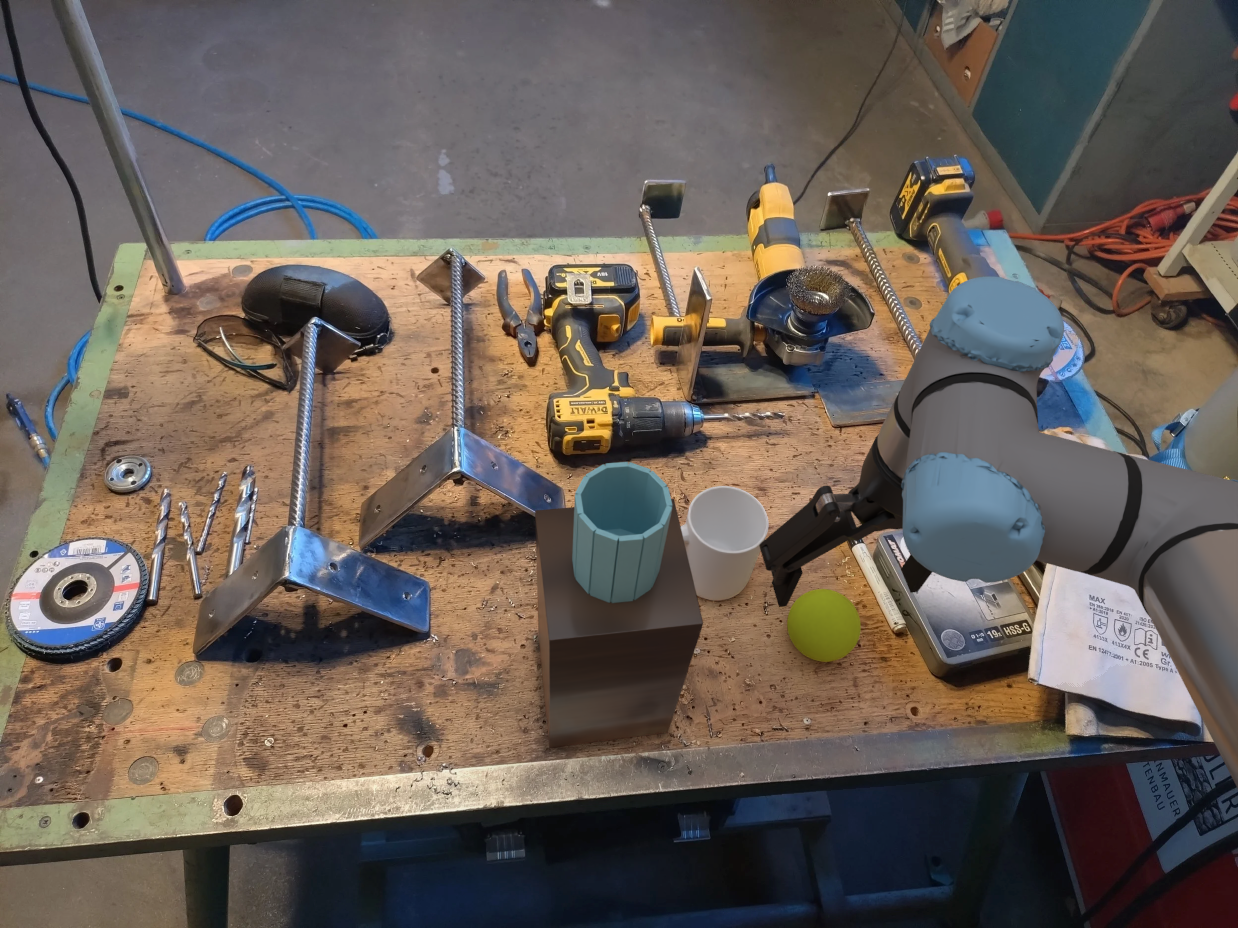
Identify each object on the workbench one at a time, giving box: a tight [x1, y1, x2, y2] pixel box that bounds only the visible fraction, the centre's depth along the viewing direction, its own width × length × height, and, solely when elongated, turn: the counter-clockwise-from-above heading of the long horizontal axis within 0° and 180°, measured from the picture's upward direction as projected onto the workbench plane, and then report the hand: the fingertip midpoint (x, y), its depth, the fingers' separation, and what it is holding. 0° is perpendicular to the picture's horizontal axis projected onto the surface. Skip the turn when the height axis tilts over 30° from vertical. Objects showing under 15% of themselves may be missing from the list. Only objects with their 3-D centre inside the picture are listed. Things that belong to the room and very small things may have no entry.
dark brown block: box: [534, 498, 704, 749], centre depth 74 cm, size 12×12×24 cm
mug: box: [680, 485, 770, 601], centre depth 89 cm, size 9×12×11 cm
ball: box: [786, 588, 862, 663], centre depth 86 cm, size 8×8×8 cm
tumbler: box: [572, 461, 672, 603], centre depth 61 cm, size 7×7×9 cm
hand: (844, 587), depth 80 cm, fingers open, 13 cm apart
